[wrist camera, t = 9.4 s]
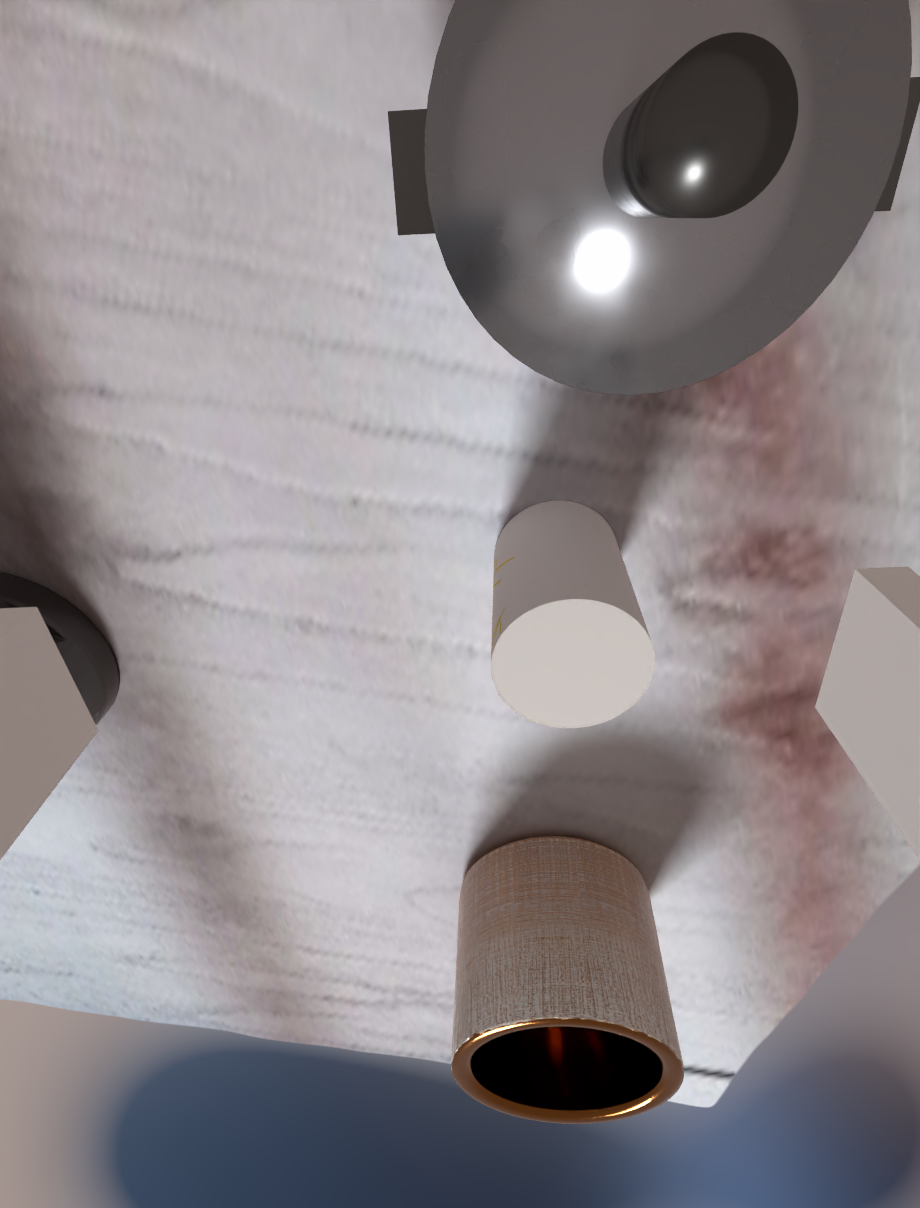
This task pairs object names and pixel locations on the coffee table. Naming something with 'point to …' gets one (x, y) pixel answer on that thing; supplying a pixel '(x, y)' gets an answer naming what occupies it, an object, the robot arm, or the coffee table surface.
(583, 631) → the beige cylinder
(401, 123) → the pot
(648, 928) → the planter
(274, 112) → the coffee table surface
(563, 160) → the lid
